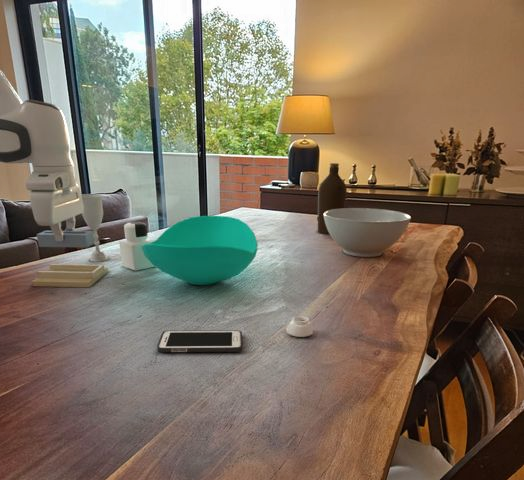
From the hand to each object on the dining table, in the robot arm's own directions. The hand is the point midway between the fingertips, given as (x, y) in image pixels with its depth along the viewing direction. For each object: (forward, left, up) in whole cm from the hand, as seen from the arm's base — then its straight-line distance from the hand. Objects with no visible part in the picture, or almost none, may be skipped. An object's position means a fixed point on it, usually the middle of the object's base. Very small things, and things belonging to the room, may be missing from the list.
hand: (65, 238), depth 113 cm
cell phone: (+39, -39, -10) cm, 56 cm away
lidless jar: (+57, -33, -11) cm, 67 cm away
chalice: (0, +20, -11) cm, 23 cm away
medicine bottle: (+14, +13, -11) cm, 22 cm away
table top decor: (+34, 0, -11) cm, 35 cm away
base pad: (0, 0, -10) cm, 10 cm away
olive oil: (+74, +69, -11) cm, 102 cm away
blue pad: (0, 0, -2) cm, 2 cm away
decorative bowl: (+81, +35, -11) cm, 89 cm away
